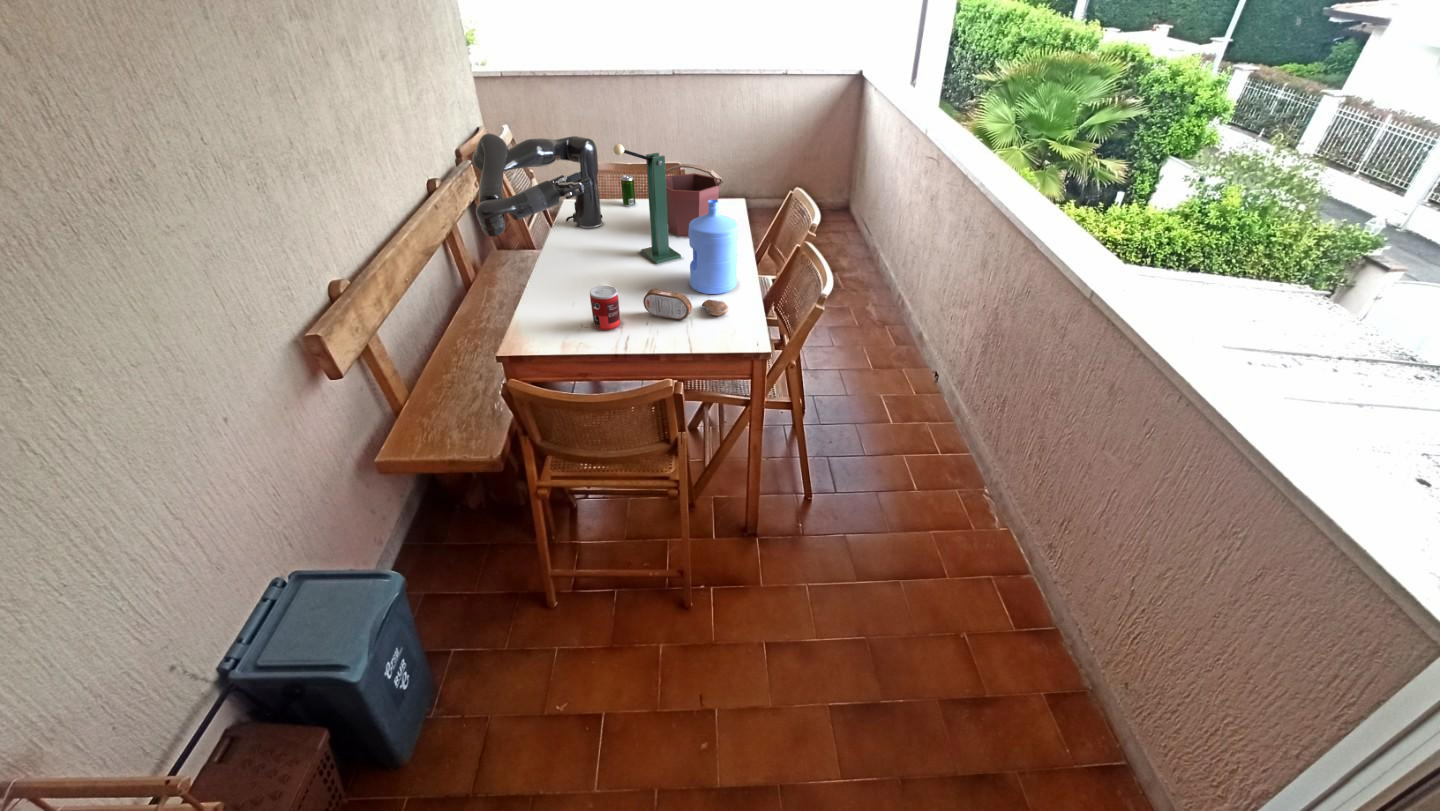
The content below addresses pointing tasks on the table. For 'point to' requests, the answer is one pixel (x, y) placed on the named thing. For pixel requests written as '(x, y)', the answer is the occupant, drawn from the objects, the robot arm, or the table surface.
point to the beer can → (628, 190)
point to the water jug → (713, 252)
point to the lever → (629, 152)
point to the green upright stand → (658, 212)
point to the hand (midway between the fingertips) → (585, 178)
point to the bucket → (689, 197)
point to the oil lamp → (715, 307)
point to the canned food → (605, 307)
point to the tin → (667, 304)
